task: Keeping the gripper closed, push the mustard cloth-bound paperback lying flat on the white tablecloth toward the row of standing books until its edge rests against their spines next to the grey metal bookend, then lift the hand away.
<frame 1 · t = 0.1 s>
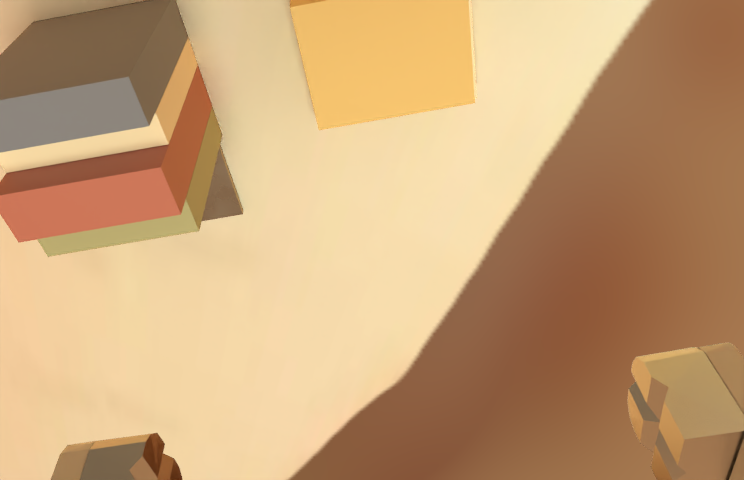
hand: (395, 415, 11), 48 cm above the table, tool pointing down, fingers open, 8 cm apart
standing books: (148, 116, 59), on the table
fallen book: (383, 40, 56), on the table
bookend: (162, 150, 61), on the table
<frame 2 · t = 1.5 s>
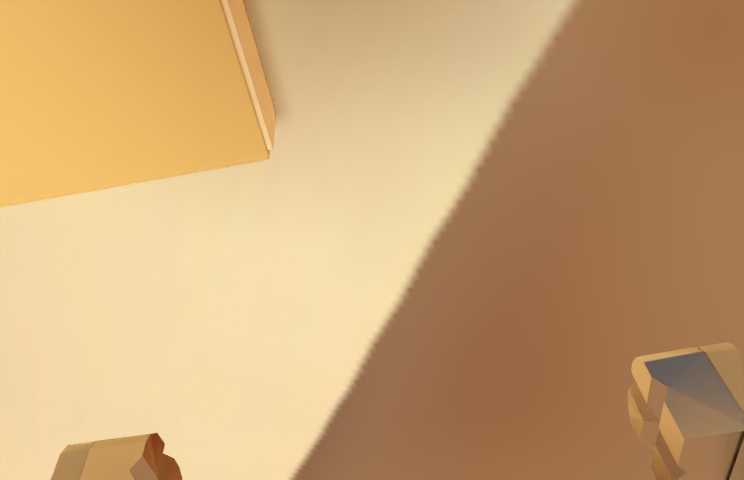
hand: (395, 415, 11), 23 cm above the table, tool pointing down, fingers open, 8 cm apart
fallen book: (94, 39, 30), on the table
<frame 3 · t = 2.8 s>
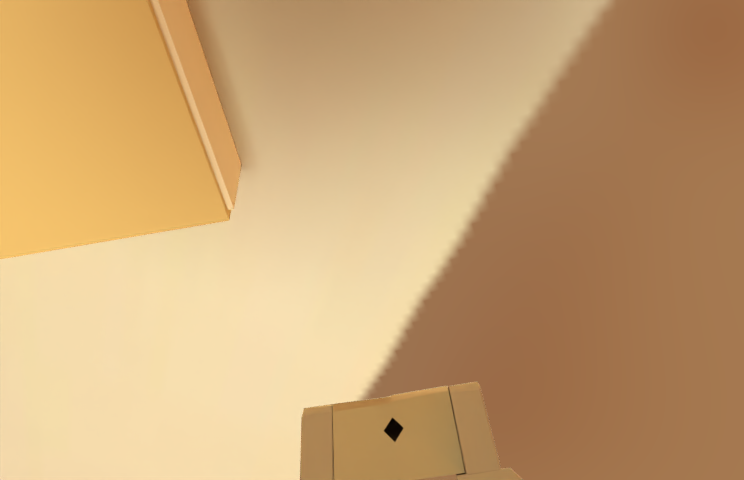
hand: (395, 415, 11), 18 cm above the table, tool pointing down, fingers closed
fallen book: (30, 82, 26), on the table
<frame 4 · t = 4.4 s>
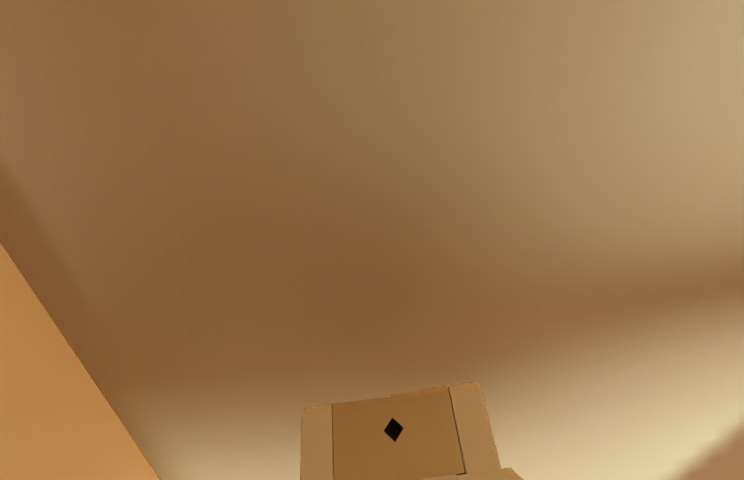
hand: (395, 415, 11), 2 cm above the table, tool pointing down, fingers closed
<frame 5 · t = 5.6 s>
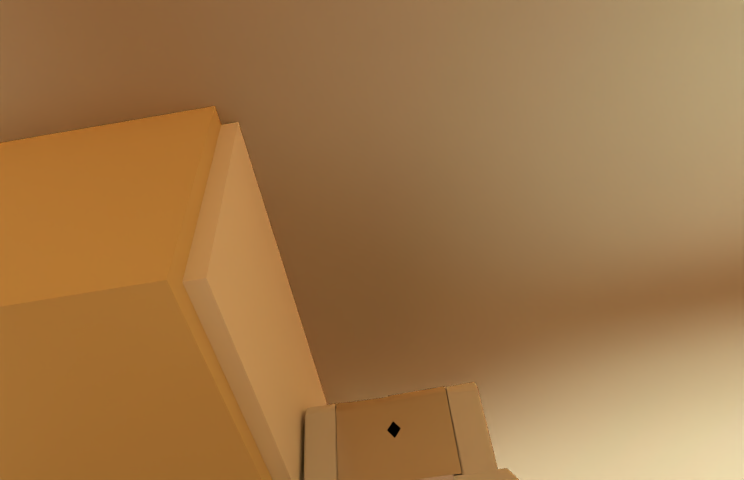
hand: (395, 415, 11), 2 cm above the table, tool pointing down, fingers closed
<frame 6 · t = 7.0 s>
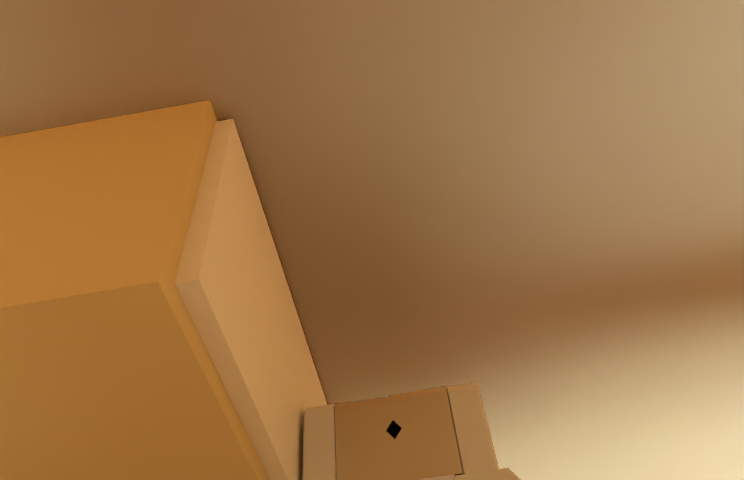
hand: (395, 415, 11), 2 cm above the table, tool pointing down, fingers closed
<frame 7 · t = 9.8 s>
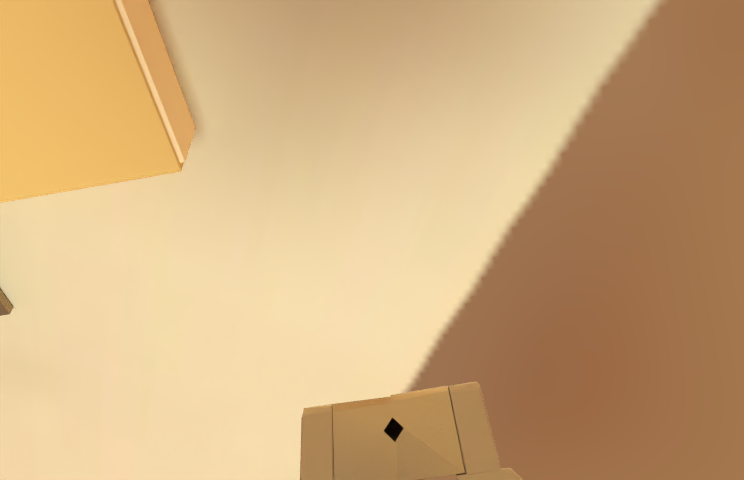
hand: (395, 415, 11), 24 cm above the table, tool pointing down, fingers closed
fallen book: (14, 56, 31), on the table
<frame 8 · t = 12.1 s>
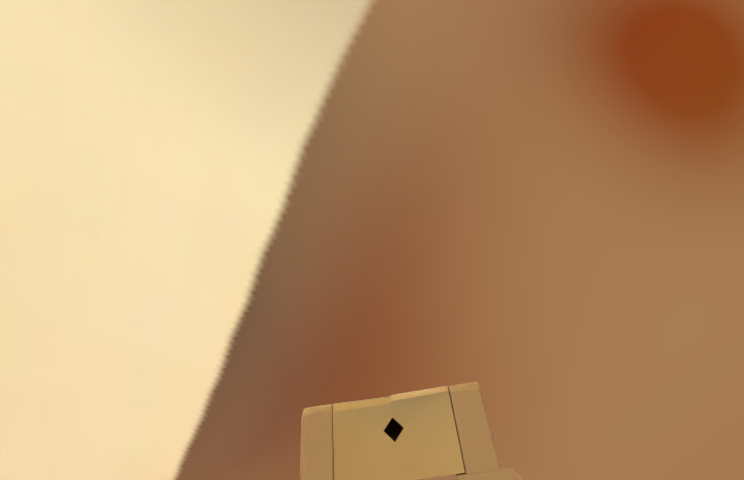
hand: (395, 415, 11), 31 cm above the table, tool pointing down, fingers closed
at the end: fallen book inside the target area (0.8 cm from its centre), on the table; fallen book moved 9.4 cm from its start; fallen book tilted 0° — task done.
